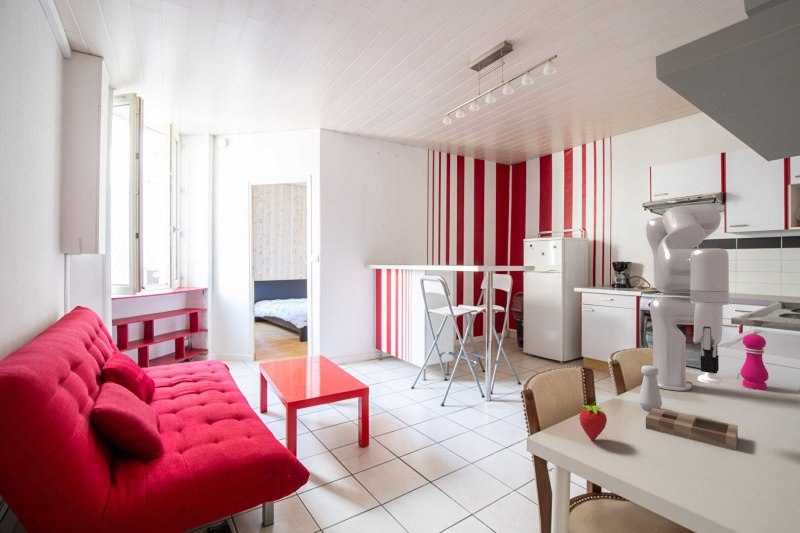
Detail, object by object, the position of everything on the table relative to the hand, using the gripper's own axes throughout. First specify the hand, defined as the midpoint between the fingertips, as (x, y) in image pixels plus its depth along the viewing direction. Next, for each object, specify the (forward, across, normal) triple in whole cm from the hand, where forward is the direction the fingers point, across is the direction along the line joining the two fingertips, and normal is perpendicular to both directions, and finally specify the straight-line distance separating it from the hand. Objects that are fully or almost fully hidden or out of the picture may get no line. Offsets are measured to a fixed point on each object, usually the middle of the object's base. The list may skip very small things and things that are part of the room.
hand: (709, 370), depth 96 cm
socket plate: (+17, 0, -4) cm, 17 cm away
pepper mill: (+17, -59, +7) cm, 62 cm away
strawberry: (+17, +21, -21) cm, 34 cm away
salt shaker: (+17, -11, -15) cm, 25 cm away
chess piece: (+3, 0, 0) cm, 3 cm away
